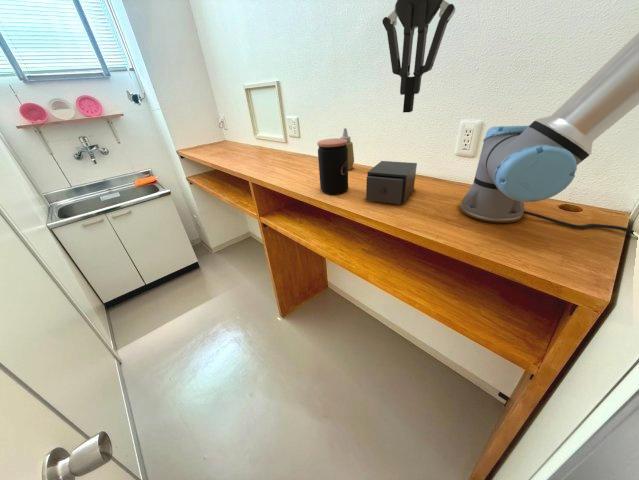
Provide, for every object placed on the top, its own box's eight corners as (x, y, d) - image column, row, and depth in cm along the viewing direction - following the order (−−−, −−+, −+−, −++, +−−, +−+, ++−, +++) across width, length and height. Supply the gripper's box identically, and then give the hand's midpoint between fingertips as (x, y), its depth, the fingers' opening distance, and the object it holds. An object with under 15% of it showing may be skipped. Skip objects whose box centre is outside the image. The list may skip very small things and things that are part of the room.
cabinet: (403, 204, 82) (406, 175, 77) (366, 199, 87) (367, 172, 82) (413, 189, 92) (417, 163, 87) (380, 185, 98) (381, 160, 93)
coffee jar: (346, 195, 92) (345, 143, 82) (318, 195, 94) (314, 144, 84) (349, 185, 100) (349, 137, 91) (323, 185, 103) (320, 138, 93)
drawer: (399, 205, 79) (401, 181, 75) (364, 200, 84) (365, 178, 80) (410, 190, 90) (412, 168, 86) (378, 186, 95) (380, 165, 91)
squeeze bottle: (357, 167, 122) (357, 127, 113) (349, 172, 116) (349, 130, 107) (342, 166, 126) (341, 126, 117) (334, 170, 120) (332, 129, 111)
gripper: (379, -37, 44) (373, 114, 56) (464, -63, 38) (437, 112, 50) (391, -25, 49) (384, 110, 61) (467, -46, 43) (442, 109, 55)
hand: (407, 111), depth 55 cm, fingers closed
